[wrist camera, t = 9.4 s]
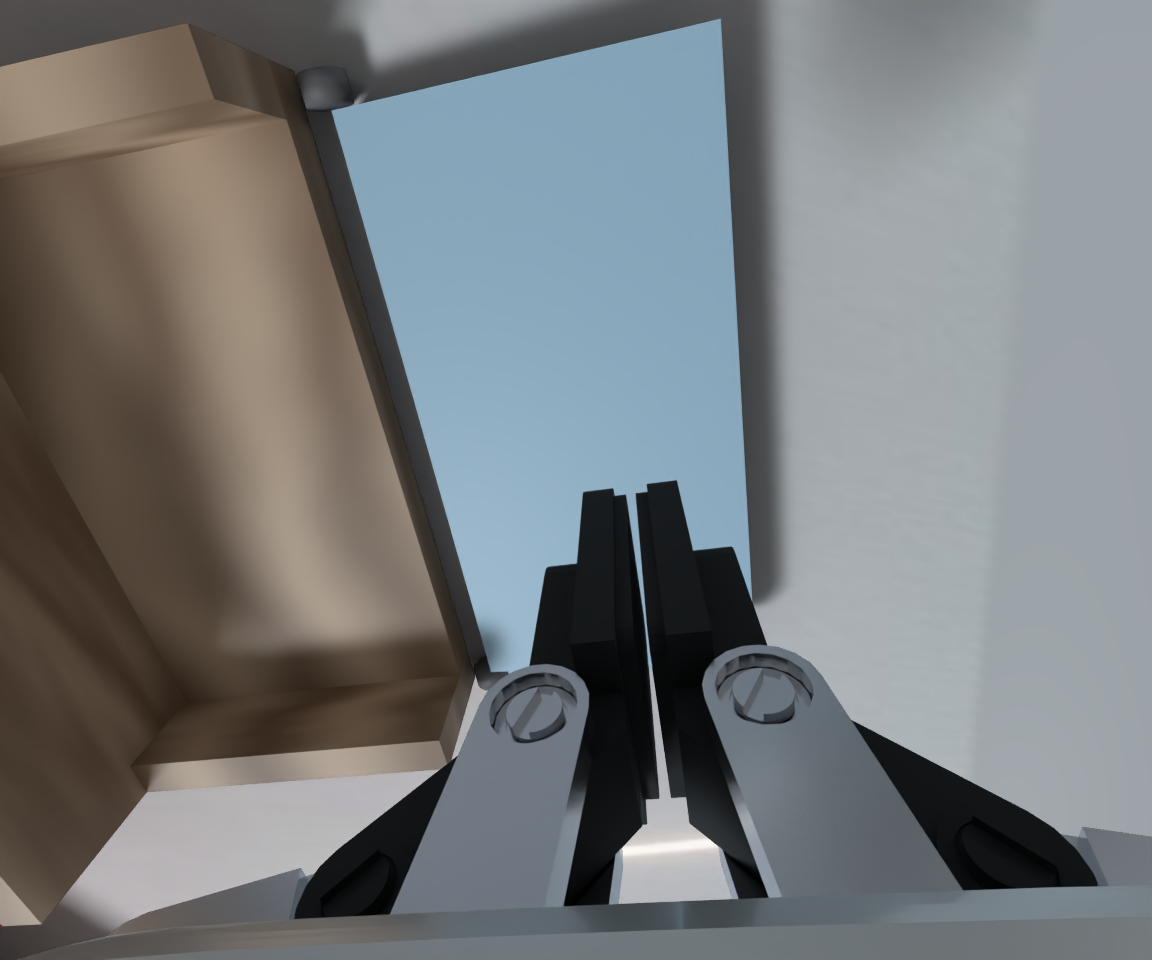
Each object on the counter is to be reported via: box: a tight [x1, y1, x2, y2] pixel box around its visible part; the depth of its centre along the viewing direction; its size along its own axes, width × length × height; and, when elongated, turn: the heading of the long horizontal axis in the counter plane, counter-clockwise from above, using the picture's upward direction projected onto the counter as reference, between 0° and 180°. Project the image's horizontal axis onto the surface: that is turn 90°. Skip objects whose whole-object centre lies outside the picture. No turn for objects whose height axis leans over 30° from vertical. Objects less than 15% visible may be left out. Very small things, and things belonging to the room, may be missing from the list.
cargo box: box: [0, 23, 508, 926], centre depth 19 cm, size 16×24×10 cm
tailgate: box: [332, 19, 752, 672], centre depth 21 cm, size 1×21×11 cm
